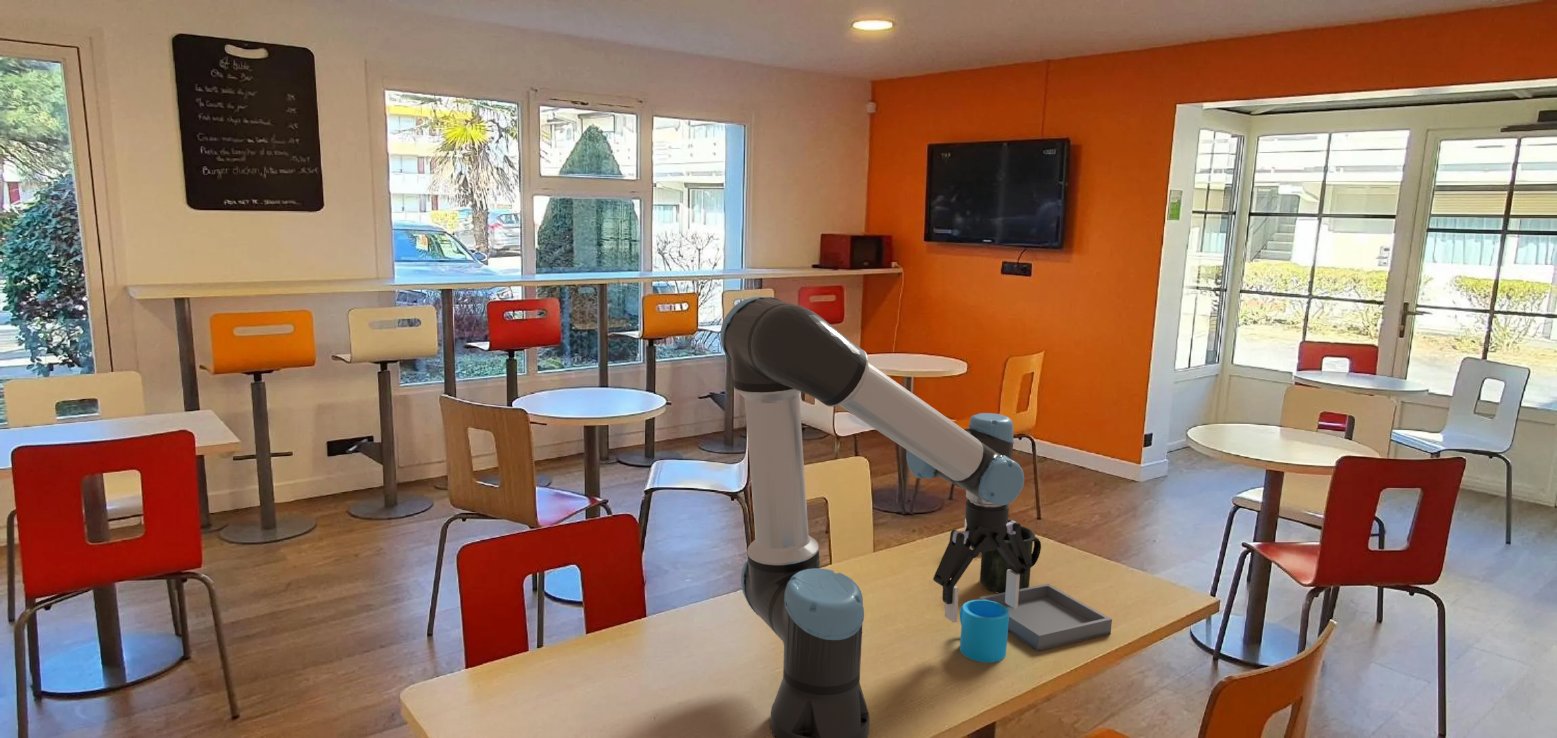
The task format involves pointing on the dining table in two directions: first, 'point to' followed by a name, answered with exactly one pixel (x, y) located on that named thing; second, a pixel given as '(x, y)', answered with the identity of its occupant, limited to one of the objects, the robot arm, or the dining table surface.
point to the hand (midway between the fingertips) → (981, 612)
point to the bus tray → (1051, 618)
